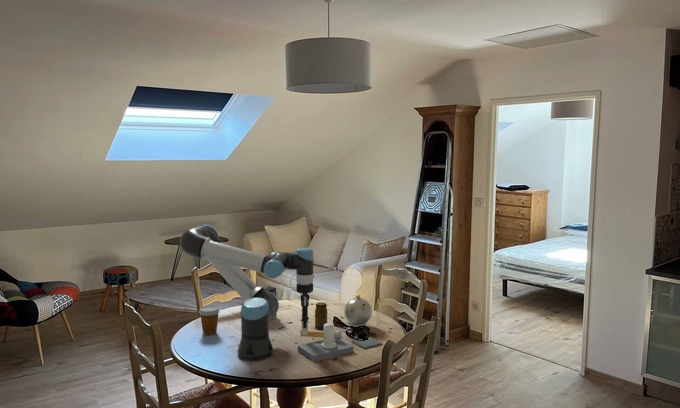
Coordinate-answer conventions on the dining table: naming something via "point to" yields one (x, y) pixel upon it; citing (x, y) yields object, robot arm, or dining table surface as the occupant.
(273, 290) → the coffee box
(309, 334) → the orange rectangular bar
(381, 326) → the dining table surface
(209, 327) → the disposable coffee cup
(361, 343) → the pad
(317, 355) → the socket board
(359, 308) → the teapot
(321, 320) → the condiment
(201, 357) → the dining table surface
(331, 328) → the white tall cylinder
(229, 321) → the dining table surface
